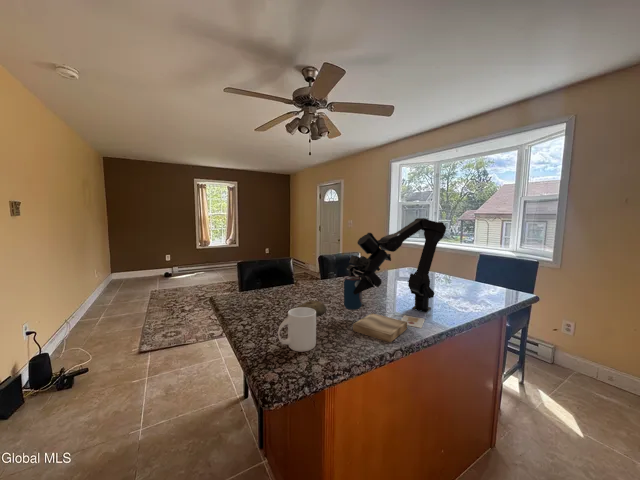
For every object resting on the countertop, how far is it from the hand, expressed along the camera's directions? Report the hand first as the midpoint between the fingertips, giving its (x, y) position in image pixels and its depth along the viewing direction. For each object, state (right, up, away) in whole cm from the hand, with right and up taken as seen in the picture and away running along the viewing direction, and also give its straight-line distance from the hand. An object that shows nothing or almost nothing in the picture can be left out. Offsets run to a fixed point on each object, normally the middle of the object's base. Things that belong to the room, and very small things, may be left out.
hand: (349, 291), depth 101 cm
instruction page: (+24, -11, -1) cm, 27 cm away
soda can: (+1, -7, +1) cm, 7 cm away
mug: (-19, -13, -21) cm, 31 cm away
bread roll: (-15, -11, +11) cm, 21 cm away
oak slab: (+10, -12, -9) cm, 18 cm away
